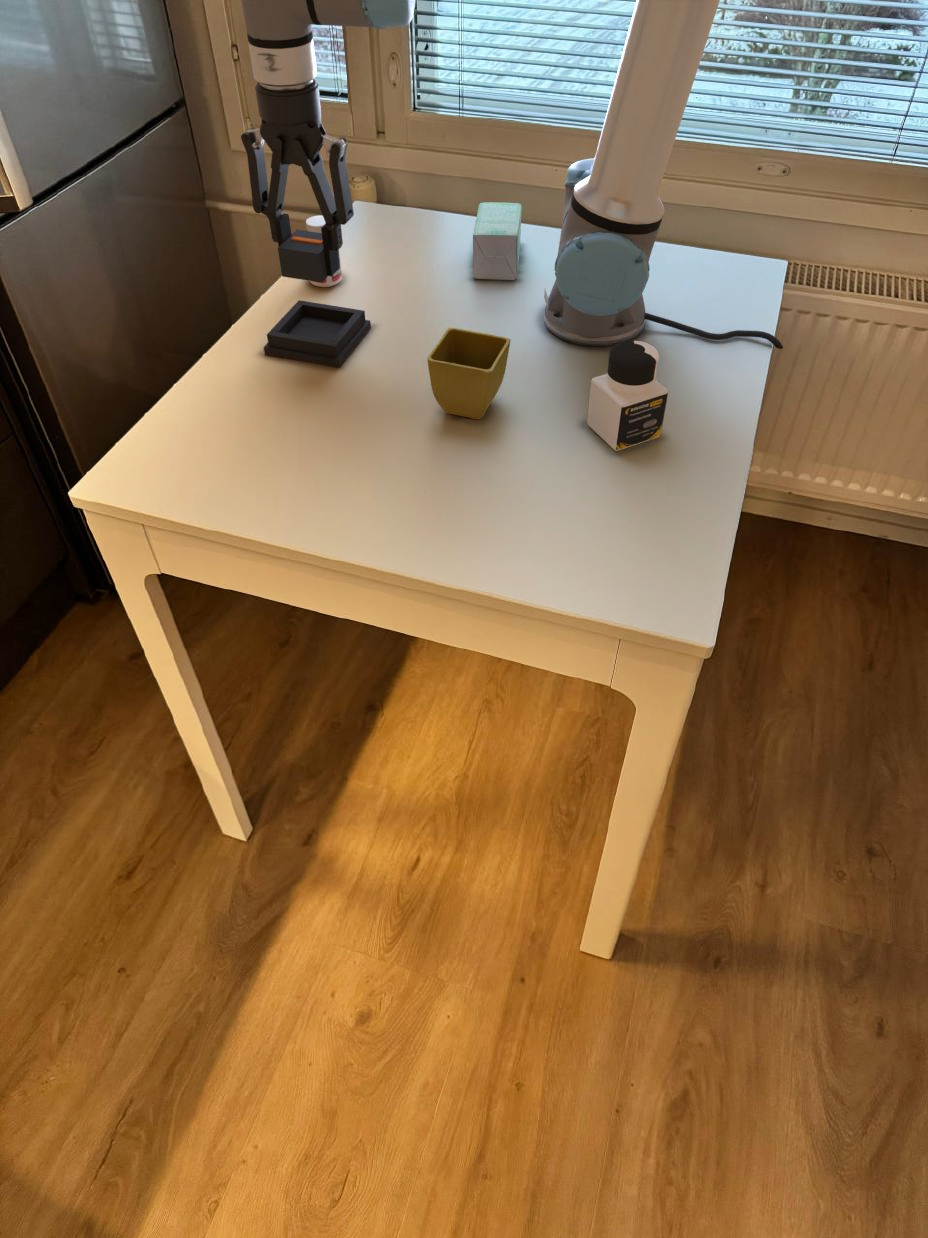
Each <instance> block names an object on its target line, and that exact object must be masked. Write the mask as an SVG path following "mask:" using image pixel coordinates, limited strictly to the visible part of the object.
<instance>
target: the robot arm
mask: <svg viewBox="0 0 928 1238" xmlns="http://www.w3.org/2000/svg"><path fill="white" fill-rule="evenodd" d="M720 1H721V0H636V1H635V5H634V9H633V13H632V16H631V20H630V23H629V27H628V31H627V34H626V39H625V42H624V46H623V51H622V54H621V58H620V61H619V65H618V69H617V73H616V77H615V81H614V84H613V88H612V91H611V96H610V99H609V104H608V107H607V111H606V114H605V119H604V122H603V125H602V129H601V133H600V137H599V141H598V143H597V149H596V152H595V156H594V158H585V159H581V160H578V161H575V162H574V163H572V164H571V165H570V166H569V167H568V169H567V172H566V178H565V182H564V189H565V191H564V204H563V215H562V221H561V230H560V236H559V243H558V251H557V256H556V258H555V262H554V275H555V280H554V283H553V286H552V288H551V290H550V293H549V296H548V293H547V290H546V289H544V295H543V296H544V297H543V298H544V301H545V307H544V316H543V317H544V318H543V320H544V321H543V322H544V324H545V326H546V328H547V329H548V330H549V331H550V332H551V333H552V334H553V335H554V336H556V337H558V338H559V339H562V340H564V341H566V342H569V343H572V344H575V345H581V346H589V347H609V346H615V345H616V344H618V343H620V342H623V341H632V340H633V339H635V338H636V337H638V336H639V335H640V334H641V333H642V332H643V330H644V327H645V322H646V320H647V321H650V322H653V323H657V324H660V325H663V326H667V327H670V328H673V329H676V330H679V331H681V332H686V333H688V334H692V335H695V336H698V337H701V338H704V339H707V340H711V341H724V340H728V339H732V338H737V337H740V338H742V337H743V338H761V339H764V340H767V341H769V342H770V344H772V345H773V346H774V347H775V348H776V349H778V350H783V349H784V346H783V344H782V342H781V341H780V340H779V339H778V338H777V337H776V336H774V335H773V334H771V333H769V332H765V331H761V330H746V329H745V330H744V329H742V330H741V329H739V330H738V329H737V330H730V331H727V332H724V333H723V332H722V333H714V332H708V331H706V330H702V329H699V328H697V327H693V326H690V325H686V324H683V323H681V322H677V321H674V320H671V319H668V318H665V317H662V316H658V315H654V314H651V313H649V312H646V307H645V301H644V295H643V293H644V291H645V289H646V287H647V283H648V281H649V278H650V270H651V269H650V268H651V267H650V264H649V262H650V258H651V256H652V255H651V254H652V251H653V248H654V245H655V243H656V240H657V237H658V233H659V229H660V227H661V224H662V222H663V218H664V215H665V210H666V209H665V206H664V204H663V202H662V200H661V198H660V196H659V191H660V187H661V185H662V182H663V179H664V175H665V172H666V170H667V165H668V162H669V159H670V156H671V153H672V150H673V148H674V145H675V141H676V138H677V135H678V132H679V128H680V126H681V123H682V119H683V116H684V113H685V110H686V107H687V103H688V101H689V98H690V95H691V91H692V88H693V85H694V82H695V79H696V76H697V73H698V69H699V66H700V63H701V61H702V60H701V59H702V57H703V54H704V52H705V48H706V45H707V41H708V38H709V35H710V32H711V30H712V26H713V24H714V19H715V17H716V14H717V11H718V8H719V4H720ZM241 6H242V12H243V18H244V23H245V28H246V37H247V43H248V49H249V57H250V63H251V69H252V73H253V74H252V76H253V79H254V80H255V81H256V82H257V83H256V85H255V87H254V89H255V90H254V91H255V96H256V102H257V109H258V115H259V117H260V119H261V122H260V126H259V127H258V128H256V127H255V126H251V127H250V128H248V129H247V130H245V131H244V132H243V133H241V135H240V141H241V142H242V145H243V147H244V150H245V152H246V156H247V165H248V173H249V184H250V192H251V201H252V208H253V211H254V212H255V214H263V215H265V216H266V217H267V219H268V221H269V229H270V234H271V235H270V236H271V239H272V241H273V242H274V243H277V247H279V246H280V245H281V244H282V243H283V242H285V241H286V240H287V239H288V238H289V237H290V236H291V235H292V234H293V233H292V227H291V221H290V214H289V213H282V212H283V211H285V209H286V207H284V202H285V196H286V189H287V181H288V174H289V167H290V165H295V166H298V167H301V169H302V171H303V174H304V176H306V177H307V179H308V181H309V184H310V185H311V186H310V187H311V189H312V192H313V195H314V197H315V199H316V202H317V204H318V207H319V210H320V212H321V216H323V217H324V220H325V224H324V225H323V226H322V227H321V232H322V240H323V248H324V254H325V263H326V271H327V276H333V275H334V273H335V272H336V271H337V270H338V269H339V268H340V266H339V257H338V250H339V251H340V249H341V248H342V246H343V244H344V241H343V233H342V226H345V225H346V224H347V223H349V221H350V220H351V219H352V218H353V217H354V214H355V212H354V205H353V200H352V193H351V186H350V185H351V184H350V179H349V172H348V167H347V159H346V155H347V150H348V140H347V138H345V137H344V136H341V137H339V138H336V137H334V136H331V135H329V134H327V131H326V129H325V127H324V125H323V122H322V108H321V105H322V104H321V98H320V97H321V96H320V89H319V88H320V87H319V83H318V81H316V77H317V75H318V69H317V62H316V54H315V46H314V34H313V26H314V25H315V26H333V27H358V28H374V29H377V30H385V29H386V28H404V27H406V26H409V24H410V23H411V22H412V20H413V18H414V11H415V8H416V0H241ZM265 144H266V145H267V146H268V148H269V149H270V151H271V160H270V161H271V162H270V168H271V174H270V180H269V181H270V182H269V183H268V173H267V172H268V171H267V163H266V153H265V147H264V146H265ZM323 147H324V149H325V155H326V157H328V166H329V173H330V181H331V184H330V182H329V179H328V176H327V173H326V171H325V168H324V160H323V157H322V154H321V152H320V151H321V149H322V148H323ZM331 185H332V187H331Z"/></svg>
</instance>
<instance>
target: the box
mask: <svg viewBox="0 0 928 1238" xmlns="http://www.w3.org/2000/svg"><path fill="white" fill-rule="evenodd" d="M522 210H523V205H521V203H519V202H495V201H494V202H492V201H491V202H490V201H489V202H487V201H486V202H485V201H484V202H480V203H479V204H478V207H477V212H476V217H475V223H474V228H473V232H472V267H473V268H472V272H473V273H472V275H473V276H472V277H473V278H474V279H476V280H495V281H497V280H498V281H499V280H500V281H515V280H517V277H518V274H519V273H518V272H519V263H520V253H521V239H522V238H521V235H522V233H521V232H522Z"/></svg>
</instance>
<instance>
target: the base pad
mask: <svg viewBox="0 0 928 1238" xmlns="http://www.w3.org/2000/svg"><path fill="white" fill-rule="evenodd" d="M371 328H372V325H371V320H369V319H366V311H365V310H363V309H356V308H351V307H345V306H338V305H331V304H326V303H319V302H313V301H306V300H300V299H299V300H298V301H296V302H295V304H293V306H292V307H291V308H290V309H289V310H288V311H287V312H286V313H285V314H284V315H283V317H281V318H280V319H279V321H278V322H277V323H276V324H275V325H274V326H273V327H272V328H271V329H270V330H269V331H268V333H266V339H267V343H266V344H265V345H264V346H263V351H264V355H267V356H273V357H278V358H283V359H289V360H294V361H300V362H305V363H310V364H311V363H312V364H317V365H323V366H329V367H334V368H340V367H342V365H343V364H344V362H345V361H346V360H347V359H348V357H350V355H351V354H352V353H353V351H354V350H355V348H356V347H357V346H358V345H359V344H360V342H361V341H362V340H363V338H364V337H365V336H366V334H368V332H369V331H370V330H371Z"/></svg>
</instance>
